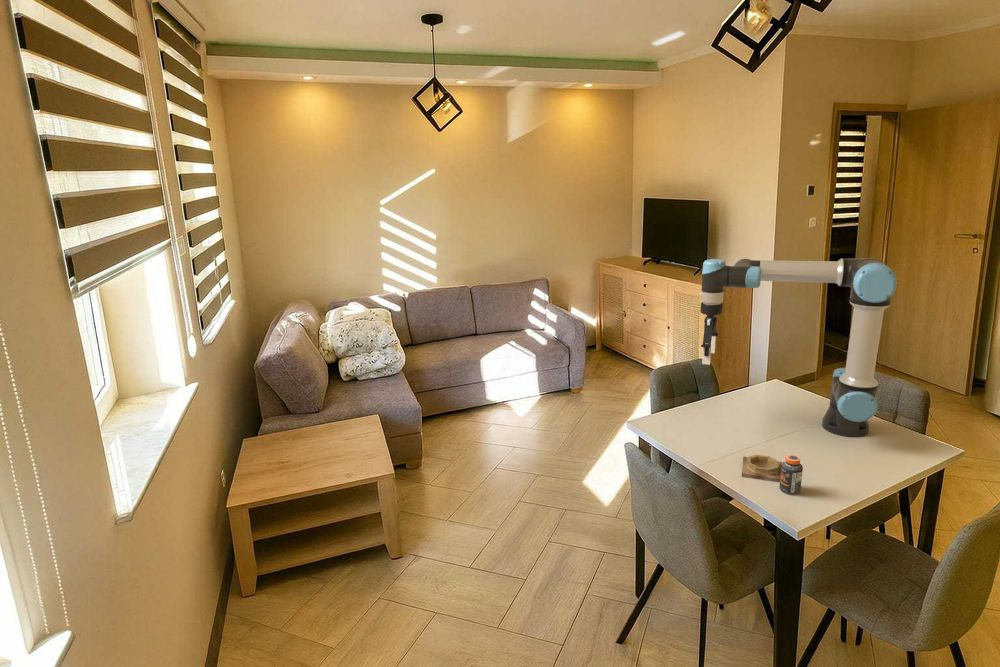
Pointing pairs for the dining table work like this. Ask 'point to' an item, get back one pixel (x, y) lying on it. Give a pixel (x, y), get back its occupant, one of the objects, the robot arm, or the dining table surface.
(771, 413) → the dining table surface
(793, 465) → the pill bottle
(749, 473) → the socket board
